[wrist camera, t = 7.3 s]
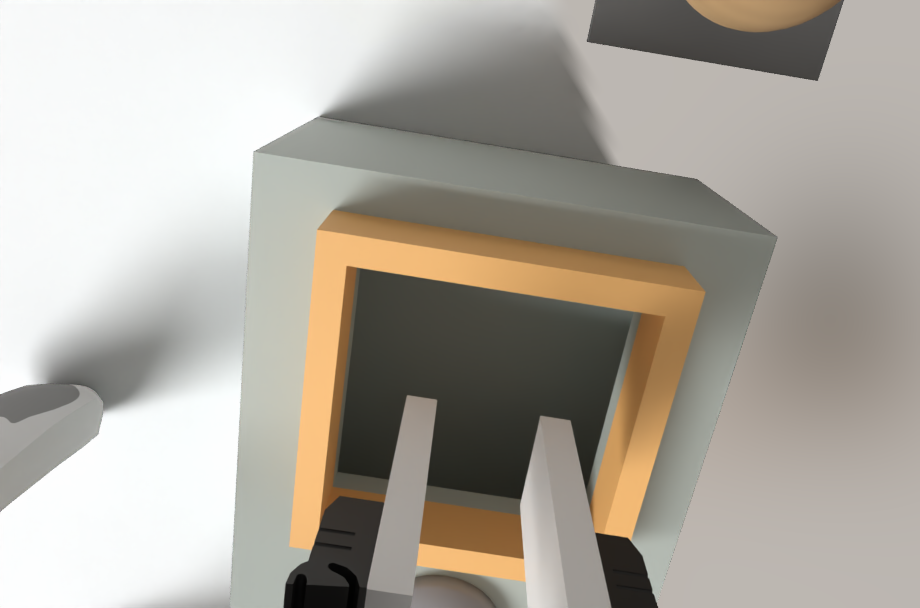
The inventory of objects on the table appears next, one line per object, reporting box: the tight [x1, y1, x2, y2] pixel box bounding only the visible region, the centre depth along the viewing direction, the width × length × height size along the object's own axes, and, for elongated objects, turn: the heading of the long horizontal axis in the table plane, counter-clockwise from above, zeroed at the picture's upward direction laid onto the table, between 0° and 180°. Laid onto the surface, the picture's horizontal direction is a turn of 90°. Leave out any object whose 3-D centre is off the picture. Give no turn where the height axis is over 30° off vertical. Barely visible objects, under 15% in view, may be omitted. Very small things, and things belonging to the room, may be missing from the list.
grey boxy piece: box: [230, 117, 777, 608], centre depth 26 cm, size 23×14×10 cm, turn 171°
